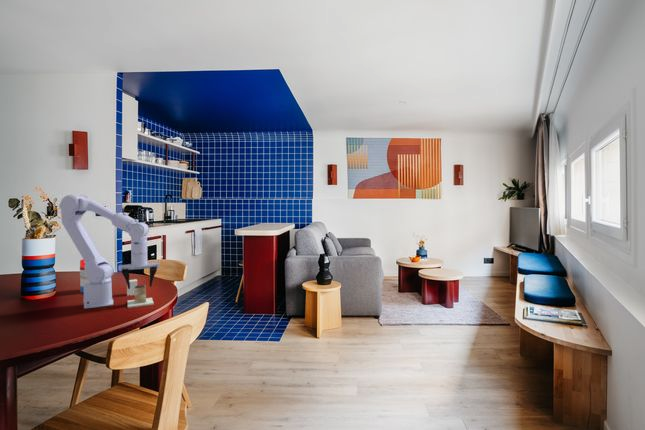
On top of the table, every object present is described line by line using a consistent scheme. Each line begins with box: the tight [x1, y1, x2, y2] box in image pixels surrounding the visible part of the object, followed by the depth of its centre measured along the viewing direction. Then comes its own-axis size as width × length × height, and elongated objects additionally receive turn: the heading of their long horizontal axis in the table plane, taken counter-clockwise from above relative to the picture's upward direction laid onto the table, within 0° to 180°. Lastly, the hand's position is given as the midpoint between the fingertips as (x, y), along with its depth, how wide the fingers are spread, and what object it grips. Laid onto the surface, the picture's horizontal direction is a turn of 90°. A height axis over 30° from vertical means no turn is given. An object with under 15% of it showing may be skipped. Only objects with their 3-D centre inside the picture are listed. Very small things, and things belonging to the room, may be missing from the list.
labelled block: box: [134, 284, 147, 304], centre depth 144 cm, size 4×4×6 cm
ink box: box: [79, 258, 90, 294], centre depth 164 cm, size 8×5×15 cm, turn 179°
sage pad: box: [127, 297, 155, 309], centre depth 144 cm, size 9×9×1 cm
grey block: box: [126, 278, 138, 297], centre depth 158 cm, size 4×4×6 cm
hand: (139, 287), depth 144 cm, fingers open, 7 cm apart
